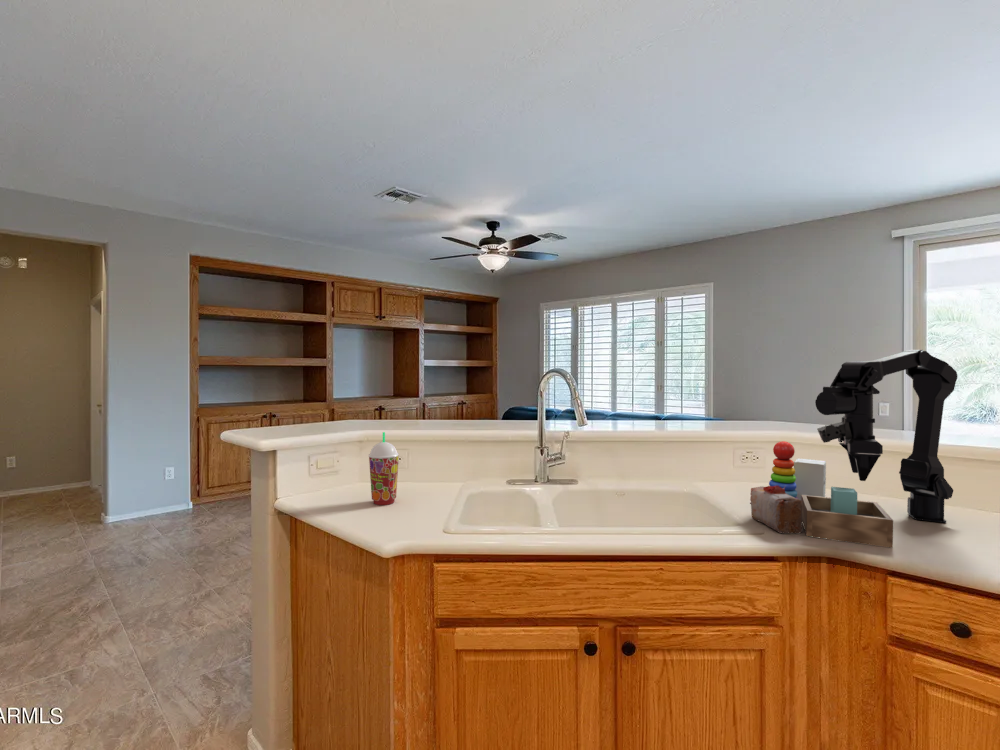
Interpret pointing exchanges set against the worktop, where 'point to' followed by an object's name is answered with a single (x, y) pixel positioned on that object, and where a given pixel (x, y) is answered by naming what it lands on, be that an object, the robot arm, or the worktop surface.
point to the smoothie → (383, 472)
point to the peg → (843, 500)
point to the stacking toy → (784, 468)
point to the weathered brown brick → (776, 509)
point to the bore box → (847, 522)
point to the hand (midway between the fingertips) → (858, 476)
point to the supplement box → (810, 477)
